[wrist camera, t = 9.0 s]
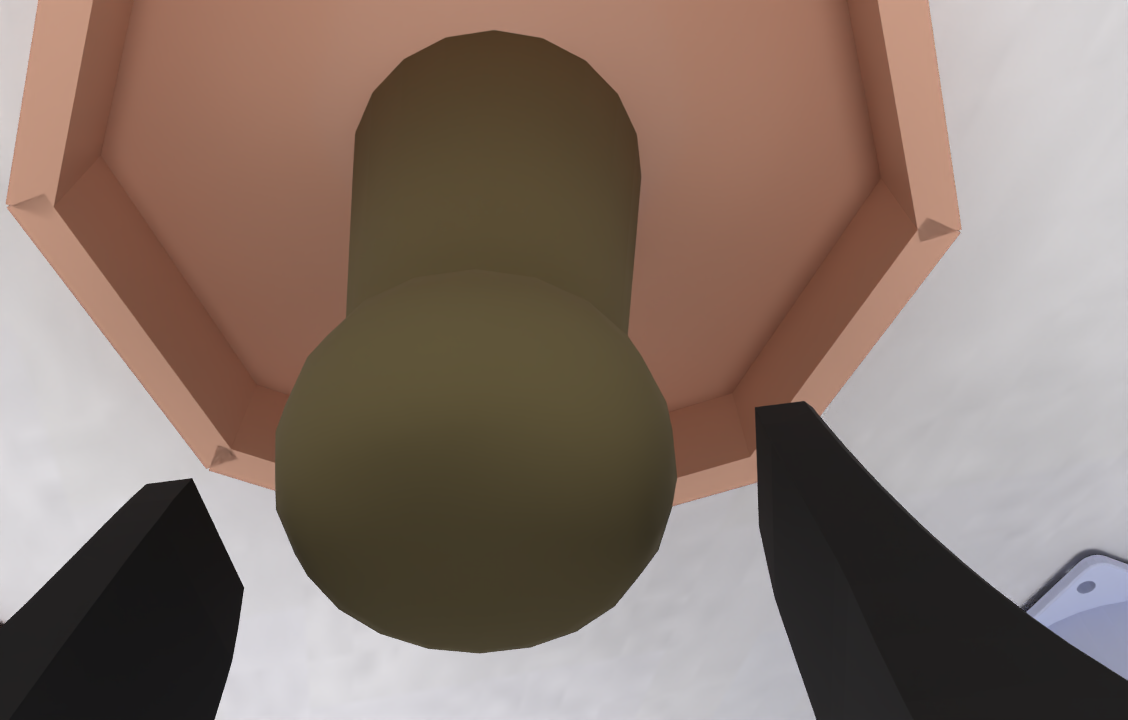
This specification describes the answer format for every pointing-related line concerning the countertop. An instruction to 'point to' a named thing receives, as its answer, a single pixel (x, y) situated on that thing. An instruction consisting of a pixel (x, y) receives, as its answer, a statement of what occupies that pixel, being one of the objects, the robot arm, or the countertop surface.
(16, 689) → the robot arm
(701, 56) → the octagonal tray
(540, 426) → the olive knobbed peg
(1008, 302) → the countertop surface
